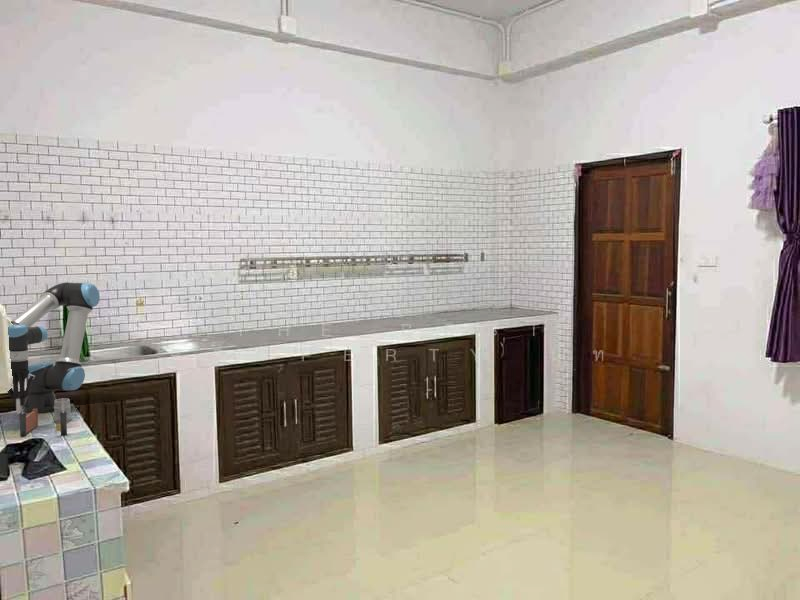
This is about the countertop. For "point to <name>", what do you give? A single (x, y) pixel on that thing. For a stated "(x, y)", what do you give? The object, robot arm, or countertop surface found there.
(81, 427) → the countertop surface
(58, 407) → the mug
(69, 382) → the robot arm
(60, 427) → the latch post
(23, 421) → the hinge post
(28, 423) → the gate
